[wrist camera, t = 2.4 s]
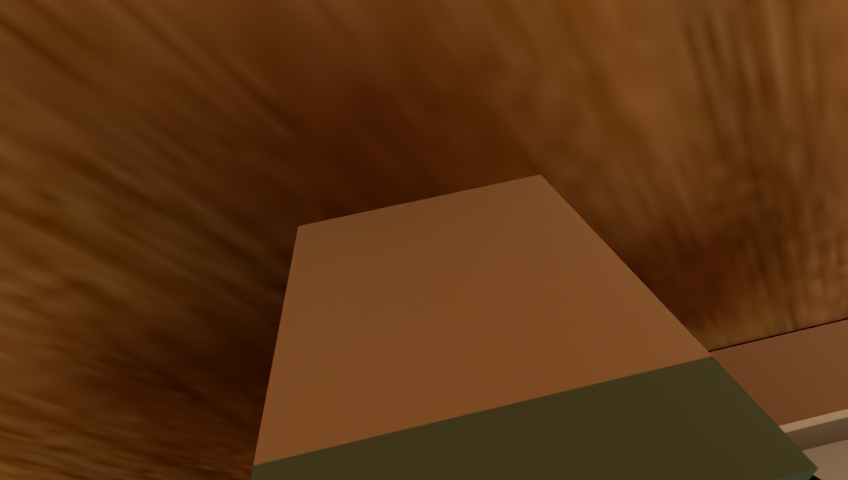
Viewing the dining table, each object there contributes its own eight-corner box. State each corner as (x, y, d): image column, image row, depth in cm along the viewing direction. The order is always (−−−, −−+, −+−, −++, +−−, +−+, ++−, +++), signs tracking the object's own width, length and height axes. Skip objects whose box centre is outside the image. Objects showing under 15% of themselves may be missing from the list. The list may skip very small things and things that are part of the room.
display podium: (1023, 277, 13) (1179, 348, 11) (855, 459, 20) (926, 528, 18) (675, 360, 13) (754, 454, 10) (624, 518, 20) (664, 597, 17)
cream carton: (539, 172, 8) (818, 468, 3) (536, 380, 12) (662, 653, 7) (298, 224, 8) (224, 619, 3) (375, 418, 12) (394, 726, 7)
